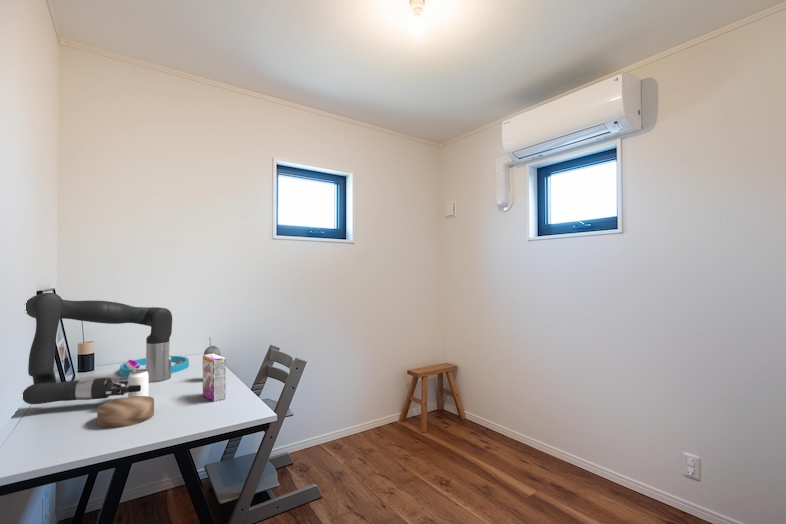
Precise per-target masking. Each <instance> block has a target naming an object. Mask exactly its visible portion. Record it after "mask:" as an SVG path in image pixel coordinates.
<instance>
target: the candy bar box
mask: <svg viewBox="0 0 786 524" xmlns="http://www.w3.org/2000/svg"><path fill="white" fill-rule="evenodd" d="M202 396H203V397H205V398H207V399H208V400H210V401H212V402H213V401H215V402H218V401H217V400H219V401H222V399H223V400H225V399H226V357H224V356H221V355H220V356H219V355H216V354H208V355H204V354H203V355H202Z"/></svg>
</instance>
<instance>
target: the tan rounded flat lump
mask: <svg viewBox="0 0 786 524" xmlns="http://www.w3.org/2000/svg"><path fill="white" fill-rule="evenodd" d="M96 410H97V411H96V412H97V414H96V415H97V417H96V420H97V421H96V422H97V423H96V424H97V427H99V428H103V429H115V428H116V429H117V428H124V427H130V426H133V425H137V424H141V423H143V422H146V421H148V420H150V419H151V418H153V417H154V415H155V398H154V397H151V396H149V395H148V396H134V397H128V396H126V397H122V398H121V397H120V398H117V399H112V400H109V401H106V402H103V404H100V405H99V406H98V407H97V409H96ZM152 416H153V417H152Z"/></svg>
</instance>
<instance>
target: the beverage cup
mask: <svg viewBox="0 0 786 524" xmlns="http://www.w3.org/2000/svg"><path fill="white" fill-rule="evenodd" d="M220 350H221V349H219V348H218V347H217V346H216V345H212V338H211V336H209V346H208V347H207V348H205V349H204V352H203V355H208V354H216V355H219V356H221V351H220Z"/></svg>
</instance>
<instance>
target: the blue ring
mask: <svg viewBox="0 0 786 524" xmlns="http://www.w3.org/2000/svg"><path fill="white" fill-rule="evenodd" d="M169 357H171V362H178V363H175V364H173V363H171V374H175V373H178V371H179V372H182V371H184V370H186V369H188V368H189V364H190V361H189V360H190V359H189V358H188V357H186V356H181V355H169ZM145 364H146V357H145V358H138V359H134V360H133V359H129V360H128V361H126V362H125V363H121V365H119V375H120V376H121V377H126V378H128V377H129V374H130V372H131V371H133V370H139V369H140V367H141V366H140V365H142V366H146V365H145ZM181 370H182V371H181ZM174 372H175V373H174Z"/></svg>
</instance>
